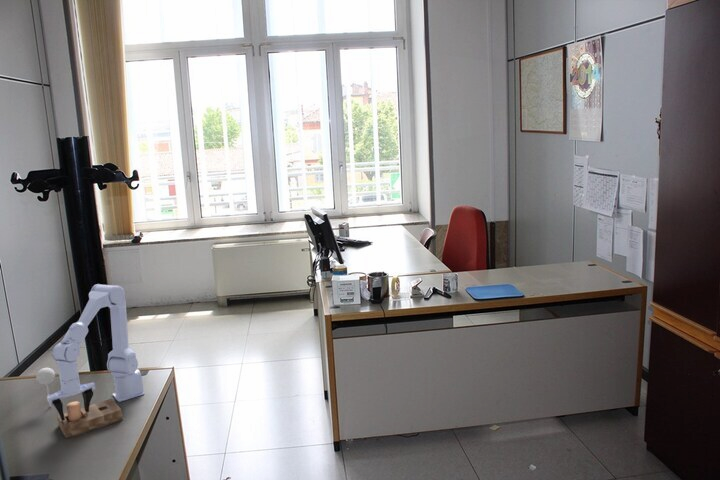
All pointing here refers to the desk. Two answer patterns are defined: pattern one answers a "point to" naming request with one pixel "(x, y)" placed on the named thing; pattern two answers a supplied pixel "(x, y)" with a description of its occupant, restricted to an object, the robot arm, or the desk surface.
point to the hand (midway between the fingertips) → (74, 415)
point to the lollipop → (45, 377)
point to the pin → (74, 411)
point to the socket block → (91, 418)
